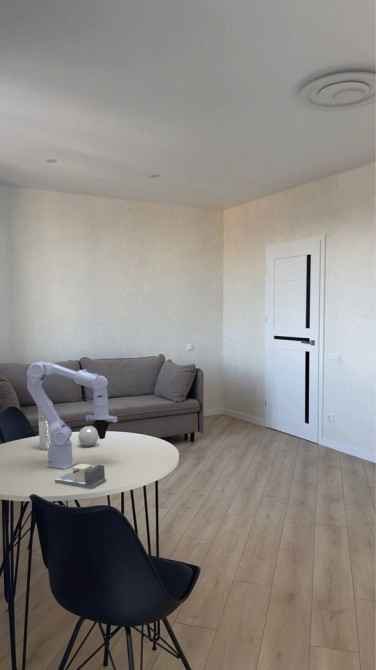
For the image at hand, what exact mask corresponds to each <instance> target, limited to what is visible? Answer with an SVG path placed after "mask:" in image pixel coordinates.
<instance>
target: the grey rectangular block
mask: <svg viewBox="0 0 376 670" xmlns="http://www.w3.org/2000/svg"><path fill="white" fill-rule="evenodd" d="M105 472H106V471H105V465H103V464H98V465H96V466H94V467H93V466H92V468H91V469H89V470H87V471H85V484H86V485H93V484H95V483H96V482H98V481H100V480H102V479H104V478H106V476H105V474H106V473H105Z"/></svg>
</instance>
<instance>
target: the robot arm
mask: <svg viewBox="0 0 376 670" xmlns="http://www.w3.org/2000/svg"><path fill="white" fill-rule="evenodd" d="M51 375H58V376H61V377H65V378H67V379H68V378H69V379H72V380H74V382H75V384H76V385H77V384H78V385H81V386H84V387H87V388H92V390H93V394H92V395H93V414H87V415H85V421H93V422H92V426H93V427H94V428H96V430H97V432H98V435H99V437H98V440H104V439H105V438H106V434H107V431H108V427H109V425H110V424H111V423H117V422H118V416H113V415H110V414H109V402H108V400H109V399H108V396H109V395H108V388H107V386H108V385H109V384H108V378H107V377H105V376H104V375H101V374H99V375H98V374H97V373H92V372H88V370H87V369H80V370H78V371H75V370H73V369H70V368H68V367H65V366H61V365H59V364H56V363H54V362H49V361H47V362H46V361H44V360H39V361H37V362H33V363H31V364H30V365H29V366H28V368H27V371H26V388H27V390H28V392H29V395H31V397H32V399H33V401H34V403H35V404H36V406H37V408H39V409H40V411H41V413H42V414H43V416H44V418H45V420H46V421H47V423H48V425H49V428H50V432H51V434H52V440H53V442H54V443H52V444H50V446H49V447H48V450H47V465H46V467H47V468H55V469H61V470H65V469H68V468H70V467H72V466H73V467H74V466H76V465H78V462H77V461H73V446H72V444H73V443H72V440H71V439H70V438H71V437H72V434H73V431H72V428H71V427H70V426H68V425H67V424H66V423H65V421H64V420H63V419H61V418H60V416H59V414H58V413H57V411H56V409H55V407H54V405H53V406H52V404H51V402H50V400H51V399H50V398H49V397H48V395H47V394H46V392H45V390H44V389H43V387H42V385H43V383H44V382H43V381H44V378H45V377H46V376H51Z"/></svg>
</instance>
